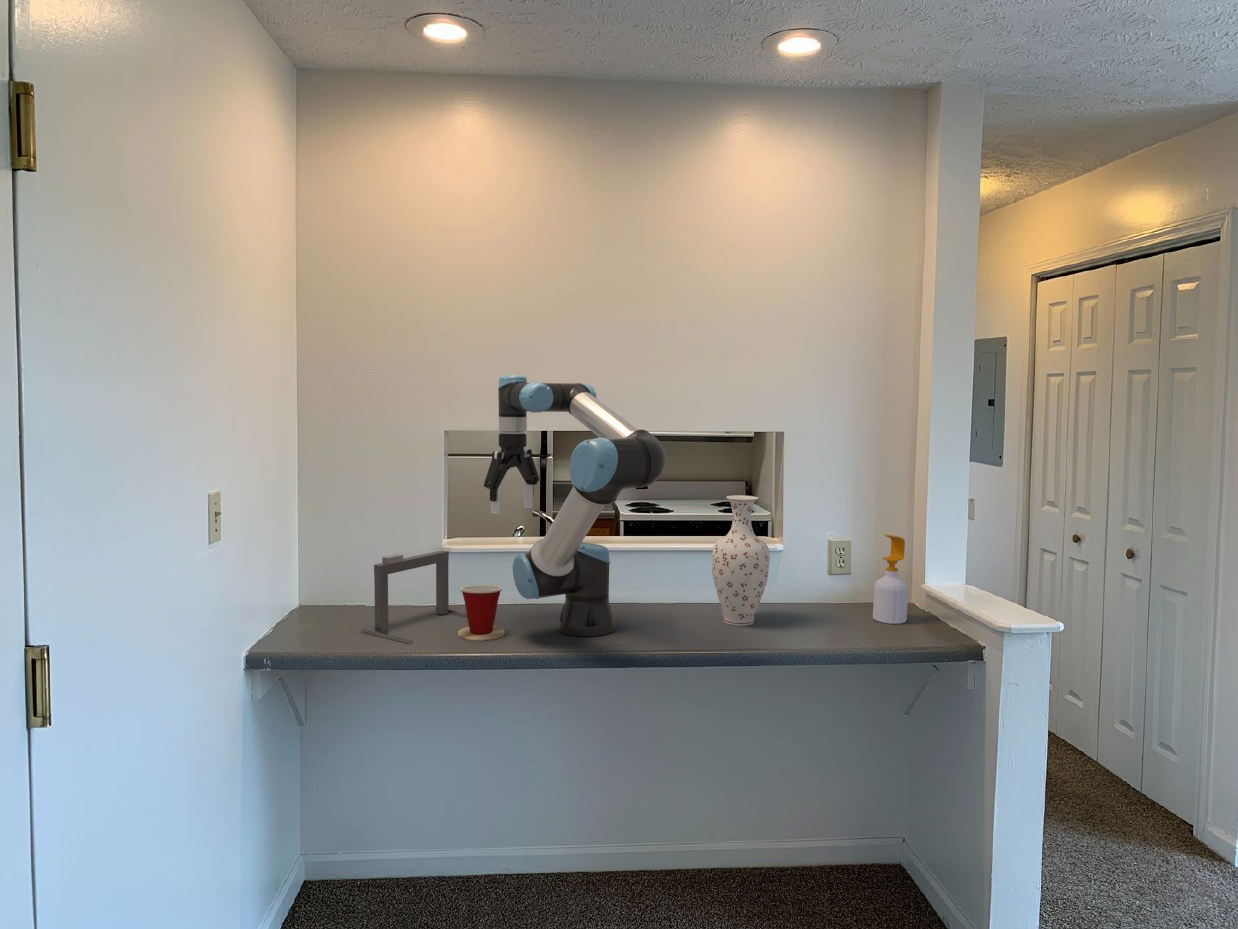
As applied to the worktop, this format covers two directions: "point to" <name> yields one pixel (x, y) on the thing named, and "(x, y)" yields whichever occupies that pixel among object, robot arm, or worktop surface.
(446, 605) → the gantry frame
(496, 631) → the cork mat
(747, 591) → the vase
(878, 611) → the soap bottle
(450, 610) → the track
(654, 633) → the worktop surface
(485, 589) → the plastic cup
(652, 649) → the worktop surface
